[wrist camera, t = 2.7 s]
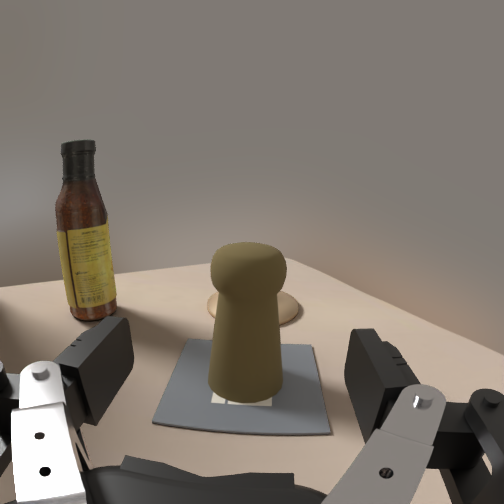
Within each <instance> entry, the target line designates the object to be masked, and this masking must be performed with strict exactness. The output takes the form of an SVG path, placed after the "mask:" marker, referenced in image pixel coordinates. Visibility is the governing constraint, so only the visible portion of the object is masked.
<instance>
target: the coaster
mask: <svg viewBox="0 0 504 504" xmlns="http://www.w3.org/2000/svg"><path fill="white" fill-rule="evenodd" d="M218 294H219V292H217V293H215V294H213V295H212V296H211V297H210V298H209V299H208V302H207V304H208V311H209V313H210V314H211V315H212V316H213V317H214V318H215V317H216V309H217V301H218ZM277 300H278V314H279V325H281V324H284V323H287V322H288V321H290V320H292V319H293V318H294V317H295V316H296V315H297V313H298V307H299V306H298V302H297V300H296V299H295V298H294V297H292V296H291V295H289V294H287V293H285V292H282V291H279V292H278V294H277Z"/></svg>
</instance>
